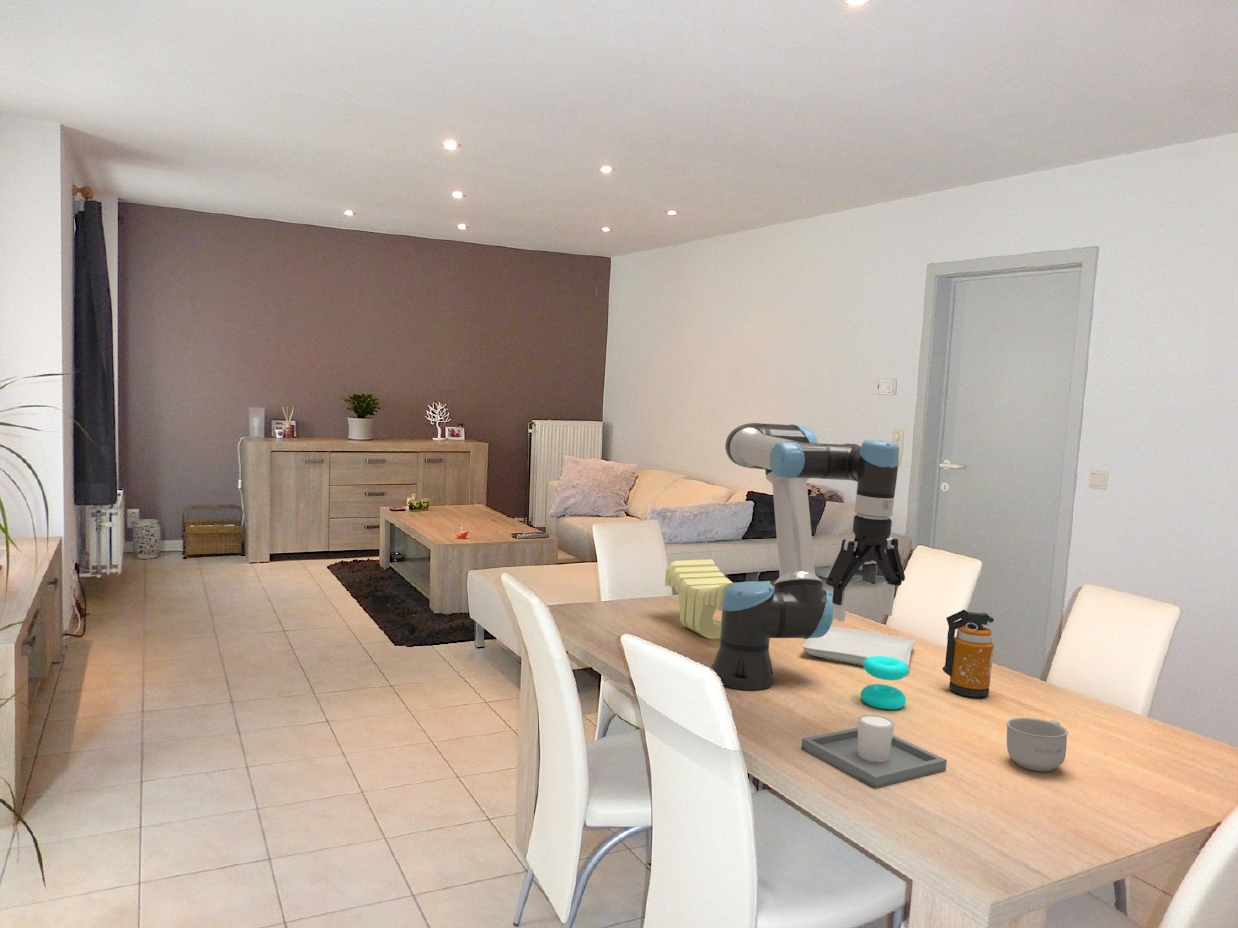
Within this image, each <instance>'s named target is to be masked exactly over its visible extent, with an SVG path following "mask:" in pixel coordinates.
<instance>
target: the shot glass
mask: <svg viewBox="0 0 1238 928" xmlns="http://www.w3.org/2000/svg"><path fill="white" fill-rule="evenodd" d="M857 727H858V755H859V756H860V757H861V758H863V759H865V760H868V761H873V762H884V761H887V760H888V757H889V752H890V746H891V741H892V736H893V735H894V729H895V722H894V721H893V720H891V719H889V718H886V717H884V716H880V715H874V714H862V715H859V716H858V717H857Z"/></svg>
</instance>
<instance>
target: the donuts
mask: <svg viewBox="0 0 1238 928" xmlns="http://www.w3.org/2000/svg"><path fill="white" fill-rule="evenodd" d="M862 667H863V669H864V671H865V672H866V673H867V674H868V675H870V676H871V677H874V678H876V679H880V680H885V681H899V680H902V679H904V678H906V677H907V675H908V674H909V672H910V669H909V668H910V667H909V665H908V666H907V664H906V663H904V662H903V661H901V660H899V659H896V658H892V657H886V656H872V657H868V658H867V659H865V661H864V663H863V666H862ZM860 698H861V700H862V701H863V702H864V703H865V704H867V705H868V706H870V707H874V708H877V709H882V710H898V709H901V708H903V707H904V706H905V705H906V703H907V698H906V696H905V694H904V693H903V692H902V690H900V689H898V688H896V687H894V686H892V685H888V684H880V683H879V684H878V683H876V684H874V683H873V684H869V685H867V686H865V687H863V688H862V689H861V691H860Z"/></svg>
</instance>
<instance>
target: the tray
mask: <svg viewBox="0 0 1238 928" xmlns="http://www.w3.org/2000/svg"><path fill="white" fill-rule="evenodd" d="M800 748H801V750H804V751H805V752H807V753H809V754H811V755H812V756H815V757H817V758H818V759H819V760H822V761H824V762H826V763H827V764H829V765H831V766H834V768H837V769H839V770H840V771H842V772H844V773H846V774H848V775H849V776H851V777H853V778H855V779H857V780H858V781H861V782H863V783H864V784H866V785H868V786H870V787H872V788H874V789H877V788H881V787H885V786H886V787H887V786H889V785H894V784H898V783H901V782H902V783H903V782H905V781H908V780H912V779H917V778H921V777H925V776H929V775H933V774H936V773H941V772H945V771H946V770H947V761H948V760H947V759H945V758H944V757H941V756H939V755H937V754H934V753H933V752H931V751H928V750H926V749H924V748H922V747H919V746H918V745H915V744H913V743H911V742H909V741H907V740H904V739H902V738H900V737H897V736H896V735H894V734H893V736H892V741H891V746H890V752H889V757H888V760H887V761H884V762H873V761H868V760H865V759H863V758H861V757H860V756H859V755H858V726H857V727H853V728H848V729H843V730H838V731H834V732H833V731H832V732H827V733H823V734H818V735H813V736H808V737H803V738H801V747H800Z"/></svg>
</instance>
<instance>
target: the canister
mask: <svg viewBox="0 0 1238 928" xmlns="http://www.w3.org/2000/svg"><path fill="white" fill-rule="evenodd" d="M945 619H946V621H947V622H946V623H947V625H948V631H947V638H946V639H947V641H946V642H947V643H946V644H947V645H946V652H945V653H946V654H945V662H944V665H943V667H942V669H941V670H942V671H943V673H945V674H947V675H948V676H949V683H948V684H949V685H948V686H949V687H948V688H949V690H952V691H953V692H955V693H957V694H958V695H960V694H961V695H960V696H963V695H964V697H968V696H969V698H981V696H982V697H986V696H988V695H989V694H990V685H991V677H992V676H991V675H992V666H993V655H994V645H995V644H994V643H993V641H992V640H993V633H992V631H991V629H989V628H987V627H984V626H988V623H990V624H991V623H994V621H995V620H994V618H993V616H990V615H989V614H988V613H987V612H972V611H971V612H970V611H967V610H966V609H962V610H960V611H958V612H956V613H954V614H951V615H949V616H947V617H946V618H945ZM956 630H957V631H956Z"/></svg>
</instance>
